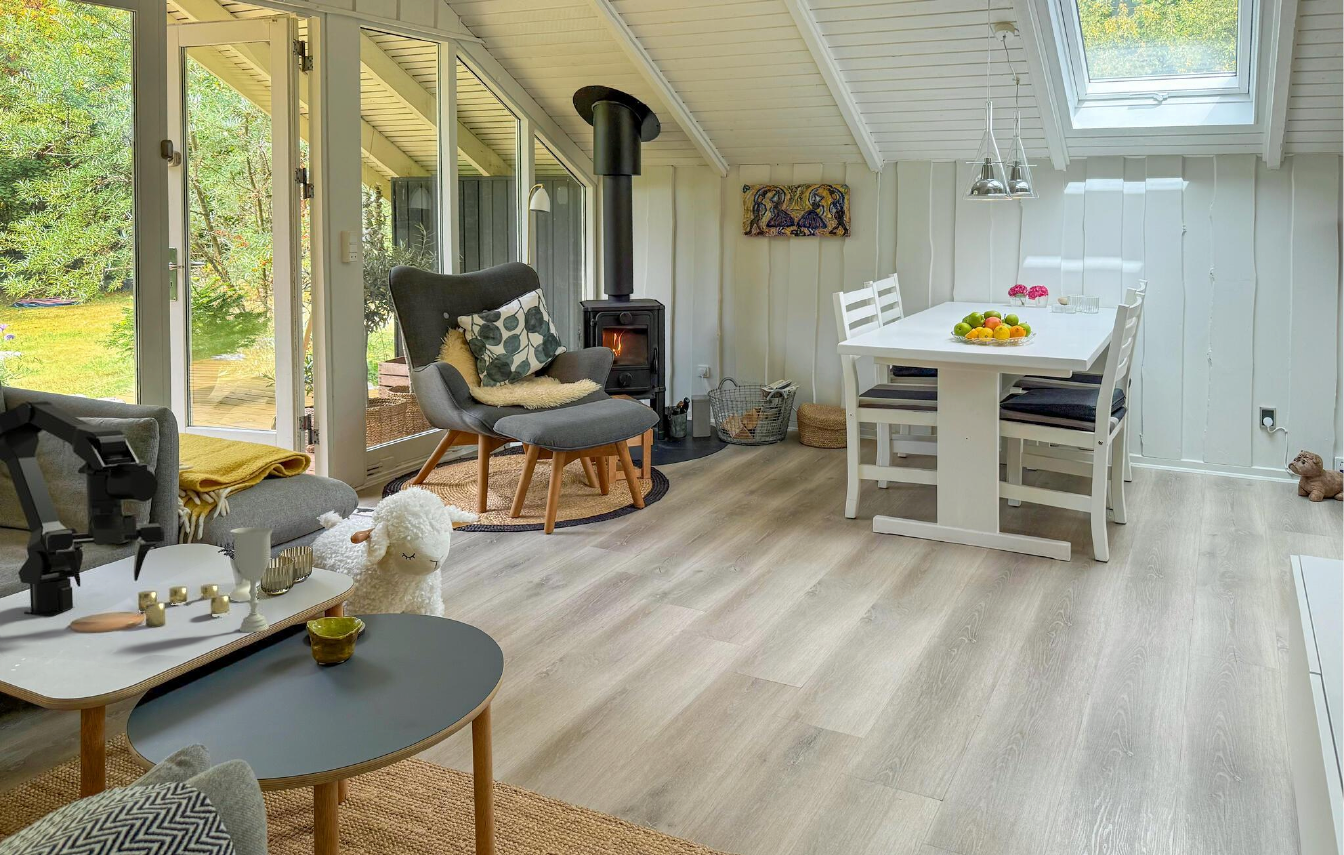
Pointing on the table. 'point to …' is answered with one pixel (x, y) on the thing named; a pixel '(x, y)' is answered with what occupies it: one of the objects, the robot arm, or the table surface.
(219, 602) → the spacer field
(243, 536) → the chalice
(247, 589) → the cream white mushroom
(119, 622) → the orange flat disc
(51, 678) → the table surface
